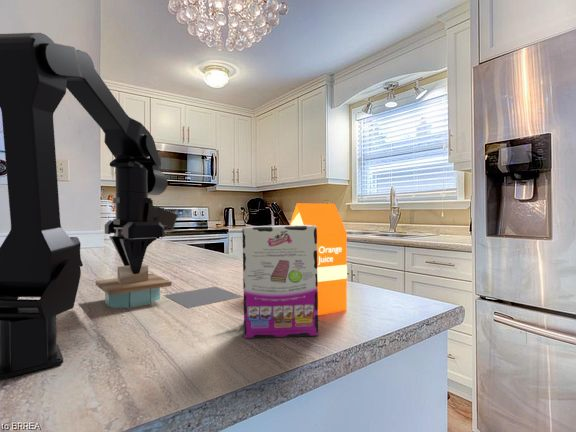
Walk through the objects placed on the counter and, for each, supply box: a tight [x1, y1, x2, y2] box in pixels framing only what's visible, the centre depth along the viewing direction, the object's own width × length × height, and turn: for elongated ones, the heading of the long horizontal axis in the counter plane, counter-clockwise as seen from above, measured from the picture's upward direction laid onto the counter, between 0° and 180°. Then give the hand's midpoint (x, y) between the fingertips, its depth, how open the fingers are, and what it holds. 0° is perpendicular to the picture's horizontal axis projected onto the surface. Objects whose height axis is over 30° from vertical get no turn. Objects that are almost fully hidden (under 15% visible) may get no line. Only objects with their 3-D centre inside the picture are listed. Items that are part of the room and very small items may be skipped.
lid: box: [95, 263, 173, 295], centre depth 65 cm, size 11×11×4 cm
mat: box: [163, 286, 244, 309], centre depth 68 cm, size 12×12×1 cm
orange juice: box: [289, 202, 348, 316], centre depth 63 cm, size 8×9×20 cm
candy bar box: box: [242, 224, 319, 339], centre depth 51 cm, size 11×5×16 cm, turn 94°
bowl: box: [104, 288, 161, 309], centre depth 65 cm, size 9×9×4 cm
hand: (132, 272), depth 65 cm, fingers open, 4 cm apart
